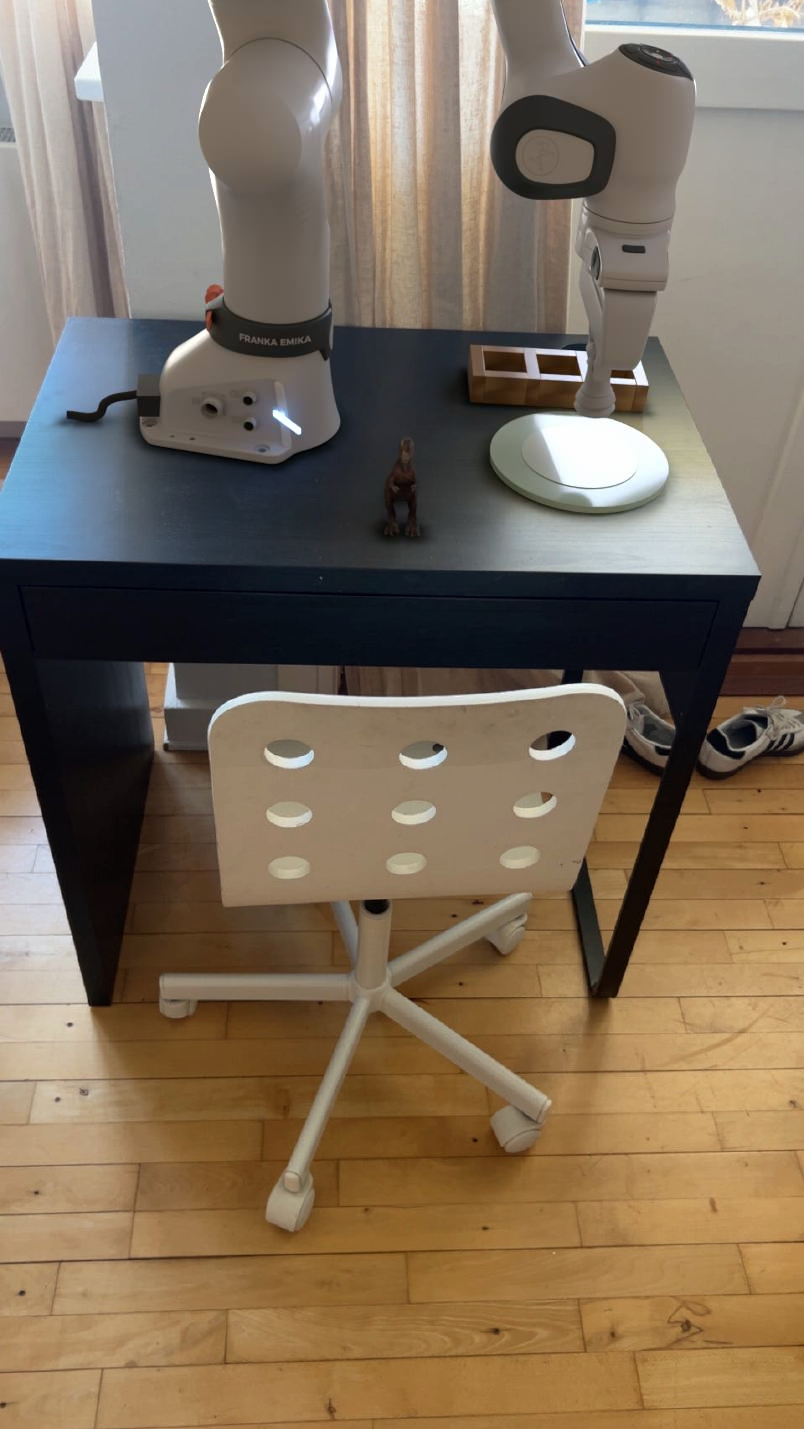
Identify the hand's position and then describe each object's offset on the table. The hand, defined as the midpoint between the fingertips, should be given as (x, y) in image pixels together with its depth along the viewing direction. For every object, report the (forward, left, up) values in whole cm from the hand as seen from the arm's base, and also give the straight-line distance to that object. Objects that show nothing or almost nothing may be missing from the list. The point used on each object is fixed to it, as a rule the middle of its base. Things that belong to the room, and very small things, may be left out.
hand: (597, 369), depth 122 cm
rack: (-1, +17, -12) cm, 21 cm away
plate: (0, 0, -12) cm, 12 cm away
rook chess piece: (0, 0, -5) cm, 5 cm away
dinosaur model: (-20, -11, -12) cm, 26 cm away
